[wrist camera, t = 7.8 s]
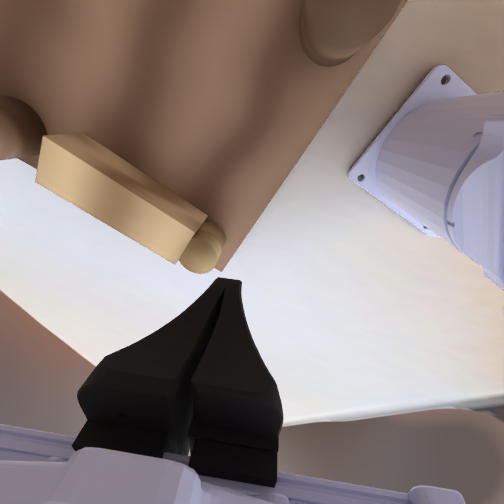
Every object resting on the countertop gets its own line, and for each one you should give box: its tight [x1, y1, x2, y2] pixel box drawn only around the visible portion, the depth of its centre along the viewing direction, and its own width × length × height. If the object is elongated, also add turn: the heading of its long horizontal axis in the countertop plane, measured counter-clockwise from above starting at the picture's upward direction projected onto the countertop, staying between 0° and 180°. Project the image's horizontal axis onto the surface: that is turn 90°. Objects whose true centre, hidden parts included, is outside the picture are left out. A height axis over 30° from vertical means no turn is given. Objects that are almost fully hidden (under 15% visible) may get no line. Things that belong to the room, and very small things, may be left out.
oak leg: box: [35, 133, 226, 274], centre depth 17 cm, size 12×3×3 cm, turn 55°
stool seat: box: [0, 0, 408, 272], centre depth 14 cm, size 20×20×6 cm
